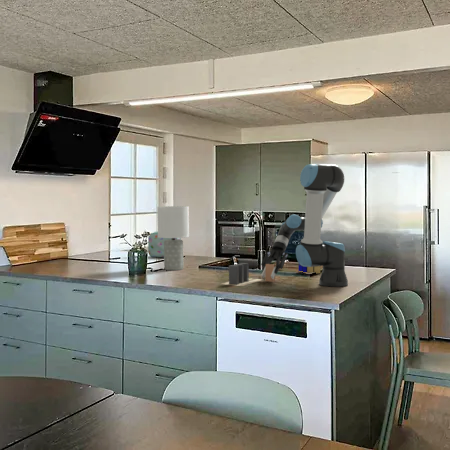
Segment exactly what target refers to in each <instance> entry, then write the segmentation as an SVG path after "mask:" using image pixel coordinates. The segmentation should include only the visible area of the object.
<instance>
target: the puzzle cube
mask: <svg viewBox="0 0 450 450" xmlns="http://www.w3.org/2000/svg"><path fill="white" fill-rule="evenodd" d="M299 271H303V272H316V274H315V275H318V274H320V275H321V266H311V267H304V266H301V265H300V264H299V263H298V272H299Z"/></svg>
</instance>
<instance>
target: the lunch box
mask: <svg viewBox="0 0 450 450" xmlns="http://www.w3.org/2000/svg"><path fill="white" fill-rule="evenodd" d="M150 234H151V235H150V236H149V235H148V241H147V242H148V243H147V246H148V247H147V248H148V251H147V252H148V255H149V257H152V258H163V259H164V241H165V240H169V239H172V238H159V237H158V231H154V232H151V233H150ZM175 239H180V240H182V238H175Z"/></svg>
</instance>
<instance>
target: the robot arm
mask: <svg viewBox="0 0 450 450" xmlns="http://www.w3.org/2000/svg"><path fill="white" fill-rule="evenodd" d="M299 178H300V179H299V181H300V184H301V186H302V187H303V190H304V191H305V193H306V199H305V200H306V201H305V214H304V215H305V216H304V217H303V216H301V217H300V216H299V215H297V214H294V213H293V214H291V215H290V216H289V217H287V219H286V220H285V221H284V222H282V223H281V225H280V227H279V230H278V233H277V236H276V238H275V240H274V242H273V244H272V247H271V250H270V251H265V255H264V257H263V259H262V261H261V264H260V265H261V267H262V270H261V277H262V279H266V264H272V262H273V261H274V260H276V262H275V267H274V269H273V271H272V274H271V278H272V279H274V276H275V277H276V275H277V274H278V272H279V270H283V267H284V265H285V263H286V260H287V258H288V257H289V254H288V252H286V250H287V247H288V245H289V241H290V239H291V236H292V235H293V234H294V233H295V232H296V231H303V238H302V239H301V240H300V244H298V245H296V248H295V257H296V260H297V262H298V265H299V264H300V265H301V266H304V267H311V266H320V267H322V271H321V273H320V277H319V280H318V284H319V285H321V286H322V287H323V286H325V287H334V288H335V287H337V288H338V287H339V288H340V287H346V286H348V284H349V280H348V277H347V274H346V270H345V269H346V268H345V263H346V262H345V261H346V260H345V257H346V255H345V254H346V248H345V245H344V244H343V242H341V243H340V242H336V241H335V242H334V241H326V240H322V239H321V235H322V234H321V233H322V227H323V224H324V221H323V218H324V216H325V213H326V212H327V211H328V209H329V206H330V205H331V204H332V202H333V200H334V198H335V196H336V195H337V194H338V193H339V192H341V190H342V188H343V186H344V184H345V173H344V172H343V170H342V168H341V167H340V166H338V165H336V164H333V163H328V164H327V163H310V164H305V166H304V167H303V168H302V170H301V172H300V175H299Z"/></svg>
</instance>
